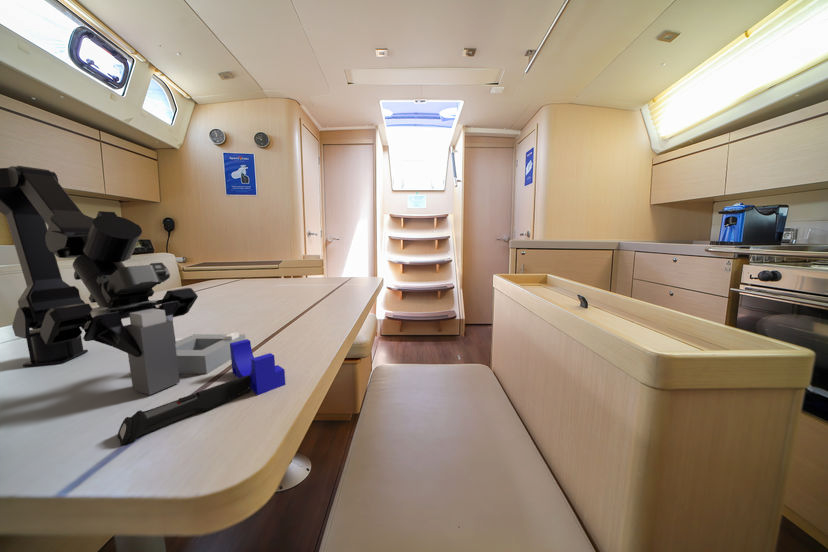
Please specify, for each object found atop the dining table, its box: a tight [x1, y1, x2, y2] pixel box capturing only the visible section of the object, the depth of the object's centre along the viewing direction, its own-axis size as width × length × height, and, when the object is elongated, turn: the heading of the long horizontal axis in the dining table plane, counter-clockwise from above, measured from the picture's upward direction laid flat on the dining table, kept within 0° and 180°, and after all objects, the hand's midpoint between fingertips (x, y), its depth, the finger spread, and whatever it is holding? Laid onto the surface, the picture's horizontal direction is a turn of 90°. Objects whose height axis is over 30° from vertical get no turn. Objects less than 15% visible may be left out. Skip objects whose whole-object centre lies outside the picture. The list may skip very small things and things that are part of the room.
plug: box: [123, 309, 181, 396], centre depth 48 cm, size 4×4×13 cm
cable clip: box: [230, 338, 286, 396], centre depth 51 cm, size 12×4×6 cm, turn 49°
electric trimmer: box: [117, 375, 250, 446], centre depth 42 cm, size 4×16×3 cm, turn 142°
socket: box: [175, 332, 247, 375], centre depth 60 cm, size 12×12×4 cm
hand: (157, 349), depth 48 cm, fingers closed on plug, 4 cm apart
